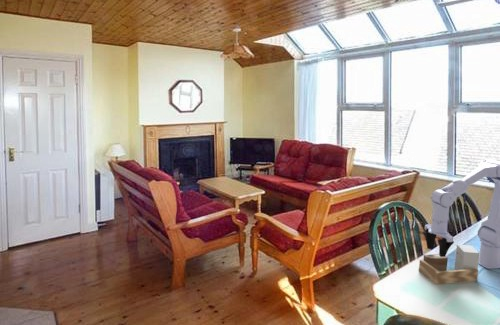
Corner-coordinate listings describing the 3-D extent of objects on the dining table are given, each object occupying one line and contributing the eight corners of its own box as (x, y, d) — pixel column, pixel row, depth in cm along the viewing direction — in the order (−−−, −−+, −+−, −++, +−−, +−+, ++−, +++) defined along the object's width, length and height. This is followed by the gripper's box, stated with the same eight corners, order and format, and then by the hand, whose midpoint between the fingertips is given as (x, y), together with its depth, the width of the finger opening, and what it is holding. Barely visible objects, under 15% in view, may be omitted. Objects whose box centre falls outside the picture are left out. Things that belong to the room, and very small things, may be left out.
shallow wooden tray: (456, 267, 151) (457, 257, 151) (476, 281, 140) (478, 270, 140) (418, 270, 148) (419, 259, 148) (436, 284, 138) (437, 272, 137)
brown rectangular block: (422, 267, 152) (423, 254, 151) (440, 265, 153) (441, 253, 152) (428, 271, 148) (429, 258, 147) (446, 270, 150) (447, 257, 149)
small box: (476, 279, 142) (480, 253, 140) (460, 277, 143) (463, 251, 141) (468, 269, 150) (472, 245, 148) (453, 268, 151) (456, 243, 149)
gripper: (419, 214, 154) (416, 245, 156) (442, 226, 140) (439, 260, 142) (434, 214, 155) (431, 244, 157) (459, 225, 141) (455, 259, 143)
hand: (436, 252), depth 150 cm, fingers open, 7 cm apart
